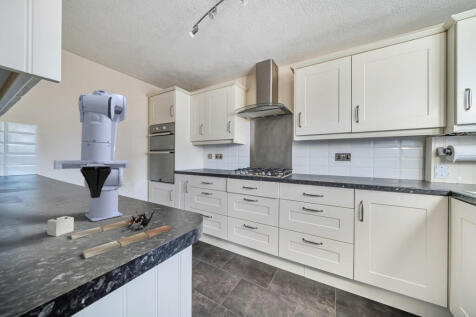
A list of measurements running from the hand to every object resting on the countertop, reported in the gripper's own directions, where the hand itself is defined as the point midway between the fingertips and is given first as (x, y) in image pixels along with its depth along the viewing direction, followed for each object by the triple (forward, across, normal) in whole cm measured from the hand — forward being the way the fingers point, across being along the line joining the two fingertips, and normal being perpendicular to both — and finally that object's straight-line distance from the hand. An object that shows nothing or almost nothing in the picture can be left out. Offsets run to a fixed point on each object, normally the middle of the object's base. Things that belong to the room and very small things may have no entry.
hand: (95, 197), depth 43 cm
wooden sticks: (+9, +5, -4) cm, 11 cm away
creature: (+10, +9, -3) cm, 14 cm away
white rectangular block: (+9, -5, +8) cm, 13 cm away
